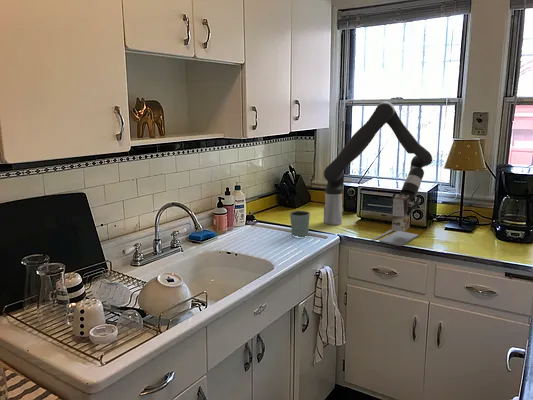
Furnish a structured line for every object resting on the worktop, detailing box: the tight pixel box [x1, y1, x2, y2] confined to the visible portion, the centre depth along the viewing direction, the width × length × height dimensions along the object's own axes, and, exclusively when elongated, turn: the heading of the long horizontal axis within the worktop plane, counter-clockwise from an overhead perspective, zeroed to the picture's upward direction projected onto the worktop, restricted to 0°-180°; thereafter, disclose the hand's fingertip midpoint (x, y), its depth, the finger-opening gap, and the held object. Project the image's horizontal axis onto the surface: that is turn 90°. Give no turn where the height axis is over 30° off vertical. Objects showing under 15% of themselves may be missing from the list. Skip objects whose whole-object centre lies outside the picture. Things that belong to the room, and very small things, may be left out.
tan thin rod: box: [370, 229, 395, 242], centre depth 230 cm, size 2×22×1 cm, turn 139°
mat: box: [379, 231, 419, 247], centre depth 224 cm, size 11×20×1 cm, turn 139°
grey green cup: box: [289, 210, 311, 237], centre depth 232 cm, size 10×10×12 cm
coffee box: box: [391, 194, 411, 232], centre depth 221 cm, size 9×6×16 cm
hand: (400, 213), depth 220 cm, fingers closed on coffee box, 7 cm apart
